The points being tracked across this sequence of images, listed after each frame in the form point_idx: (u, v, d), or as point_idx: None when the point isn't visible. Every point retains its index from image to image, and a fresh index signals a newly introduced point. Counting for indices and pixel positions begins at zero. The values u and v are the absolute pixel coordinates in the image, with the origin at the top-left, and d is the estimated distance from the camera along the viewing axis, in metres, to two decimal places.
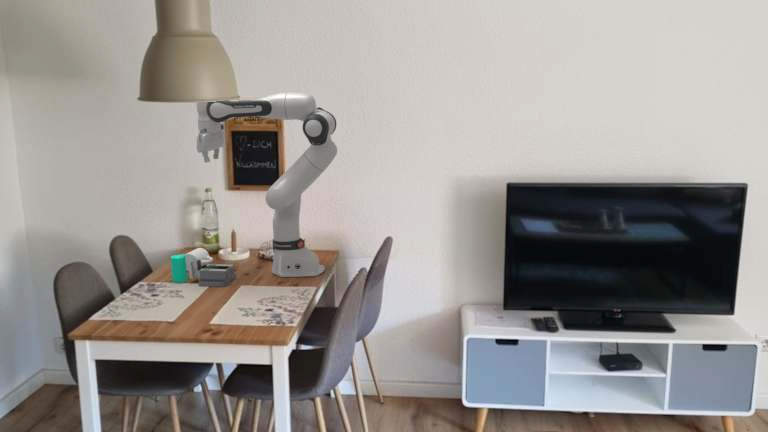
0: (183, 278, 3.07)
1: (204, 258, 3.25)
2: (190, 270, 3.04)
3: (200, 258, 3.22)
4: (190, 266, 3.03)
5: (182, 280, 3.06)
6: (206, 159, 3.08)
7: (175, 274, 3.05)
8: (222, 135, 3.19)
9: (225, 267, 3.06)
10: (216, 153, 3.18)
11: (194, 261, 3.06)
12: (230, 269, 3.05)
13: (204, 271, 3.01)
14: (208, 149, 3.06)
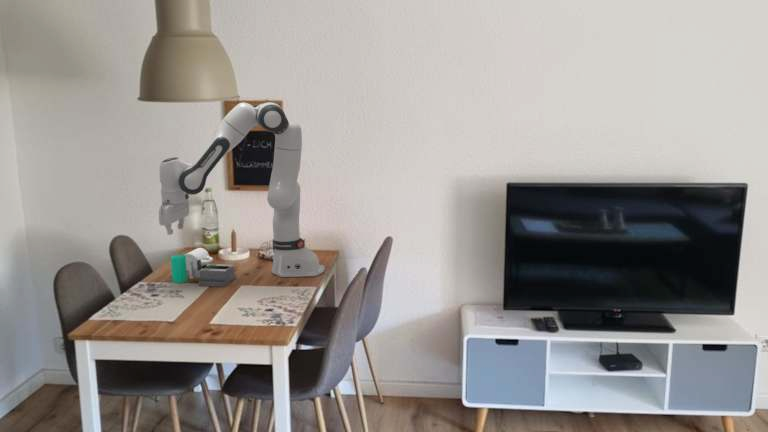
0: (183, 278, 3.07)
1: (204, 258, 3.25)
2: (190, 270, 3.04)
3: (200, 258, 3.22)
4: (190, 266, 3.03)
5: (182, 280, 3.06)
6: (169, 231, 2.99)
7: (175, 274, 3.05)
8: (187, 204, 3.10)
9: (225, 267, 3.06)
10: (181, 223, 3.09)
11: (194, 261, 3.06)
12: (230, 269, 3.05)
13: (204, 271, 3.01)
14: (171, 221, 2.97)
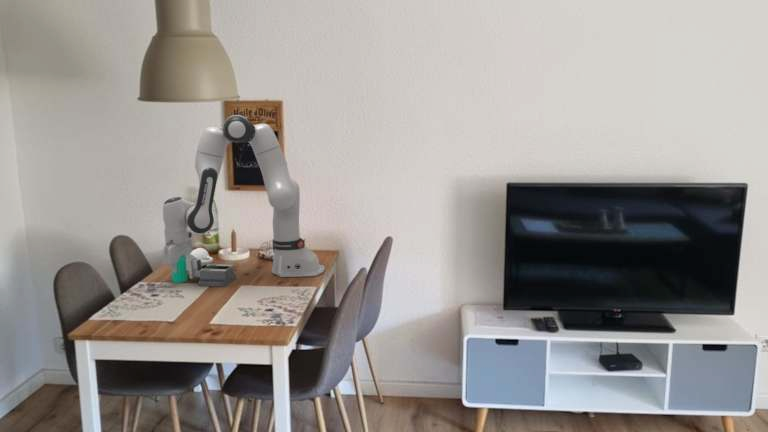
0: (183, 278, 3.07)
1: (204, 258, 3.25)
2: (190, 270, 3.04)
3: (200, 258, 3.22)
4: (190, 266, 3.03)
5: (182, 280, 3.06)
6: (175, 269, 3.04)
7: (175, 274, 3.05)
8: (190, 242, 3.13)
9: (225, 267, 3.06)
10: None
11: (194, 261, 3.06)
12: (230, 269, 3.05)
13: (204, 271, 3.01)
14: (175, 261, 3.00)
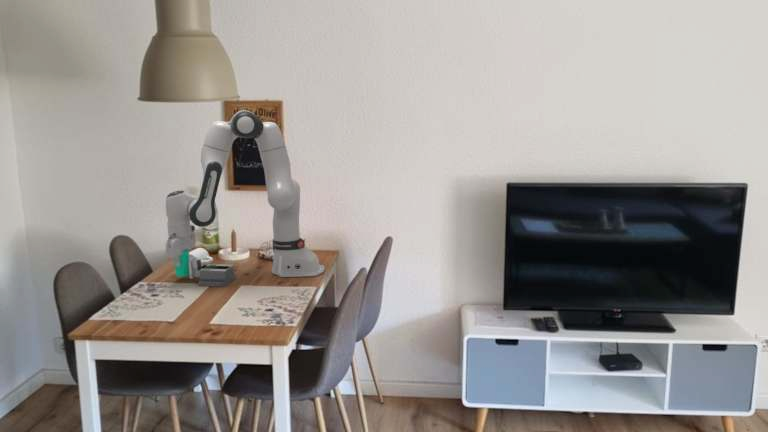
0: (186, 272, 3.06)
1: (204, 258, 3.25)
2: (190, 270, 3.04)
3: (200, 258, 3.22)
4: (190, 266, 3.03)
5: (185, 274, 3.06)
6: (178, 263, 3.03)
7: (178, 268, 3.05)
8: (193, 236, 3.13)
9: (225, 267, 3.06)
10: None
11: (194, 261, 3.06)
12: (230, 269, 3.05)
13: (204, 271, 3.01)
14: (178, 254, 2.99)
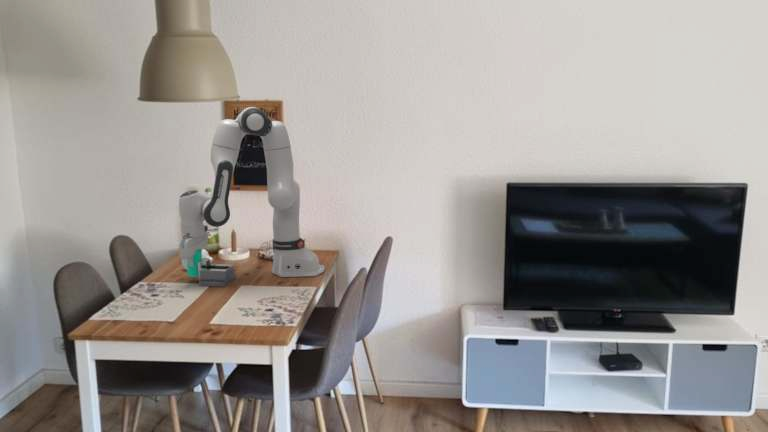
0: None
1: None
2: (199, 270, 3.03)
3: None
4: (199, 267, 3.03)
5: (197, 274, 3.05)
6: (191, 263, 3.02)
7: (191, 268, 3.04)
8: (206, 236, 3.12)
9: (225, 267, 3.06)
10: None
11: (203, 261, 3.05)
12: (230, 269, 3.05)
13: (204, 271, 3.01)
14: (191, 254, 2.98)
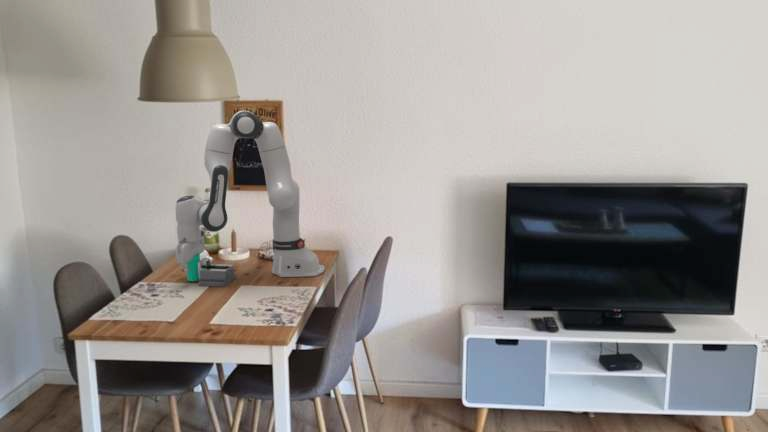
0: (198, 276, 3.07)
1: None
2: (199, 270, 3.03)
3: (200, 258, 3.22)
4: (199, 267, 3.03)
5: (197, 278, 3.07)
6: (186, 269, 3.01)
7: (190, 272, 3.06)
8: (203, 241, 3.12)
9: (225, 267, 3.06)
10: None
11: (203, 261, 3.05)
12: (230, 269, 3.05)
13: (204, 271, 3.01)
14: (187, 260, 2.99)
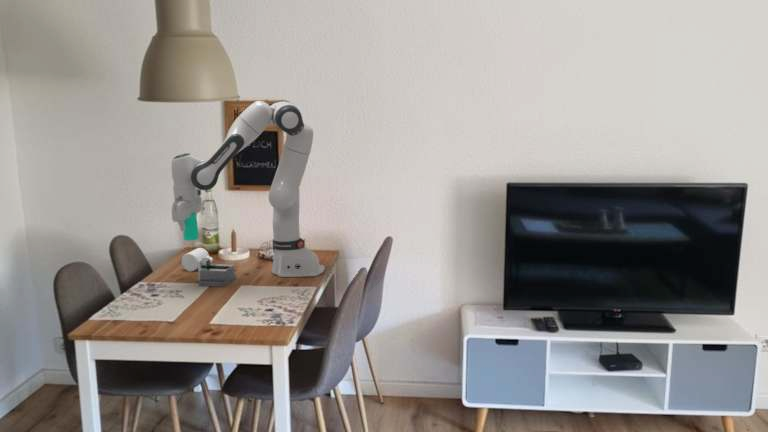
0: (195, 235, 3.04)
1: None
2: (199, 270, 3.03)
3: (200, 258, 3.22)
4: (199, 267, 3.03)
5: (194, 237, 3.03)
6: (182, 227, 2.98)
7: (186, 232, 3.02)
8: (199, 200, 3.09)
9: (225, 267, 3.06)
10: None
11: (203, 261, 3.05)
12: (230, 269, 3.05)
13: (204, 271, 3.01)
14: (184, 218, 2.95)
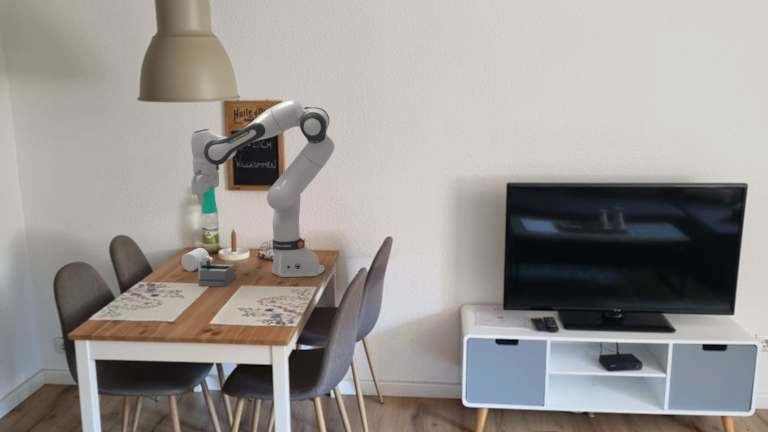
0: (213, 209, 3.13)
1: None
2: (199, 270, 3.03)
3: (200, 258, 3.22)
4: (199, 267, 3.03)
5: (212, 211, 3.12)
6: (201, 201, 3.07)
7: (205, 205, 3.11)
8: (217, 175, 3.18)
9: (225, 267, 3.06)
10: None
11: (203, 261, 3.05)
12: (230, 269, 3.05)
13: (204, 271, 3.01)
14: (203, 191, 3.04)
